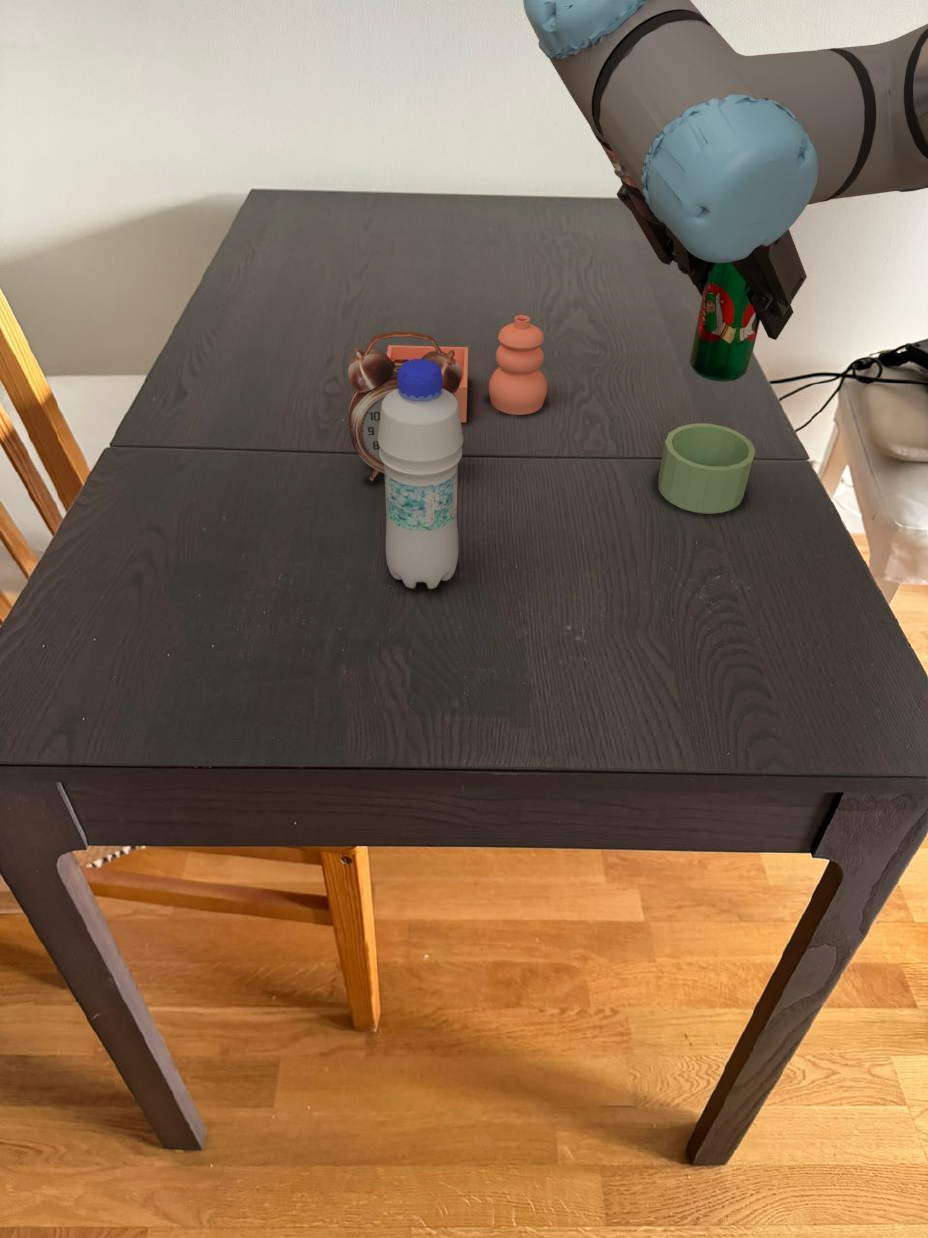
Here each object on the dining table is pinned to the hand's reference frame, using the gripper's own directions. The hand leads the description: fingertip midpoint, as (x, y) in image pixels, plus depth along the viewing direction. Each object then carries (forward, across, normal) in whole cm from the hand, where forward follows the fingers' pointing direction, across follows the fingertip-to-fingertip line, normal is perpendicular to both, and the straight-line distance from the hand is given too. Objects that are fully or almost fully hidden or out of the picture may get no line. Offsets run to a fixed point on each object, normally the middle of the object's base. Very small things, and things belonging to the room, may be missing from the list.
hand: (751, 313), depth 80 cm
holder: (+12, -1, -14) cm, 18 cm away
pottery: (+9, -29, -17) cm, 35 cm away
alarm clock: (-2, -23, -27) cm, 36 cm away
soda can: (0, 0, -6) cm, 6 cm away
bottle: (-8, -10, -34) cm, 37 cm away
